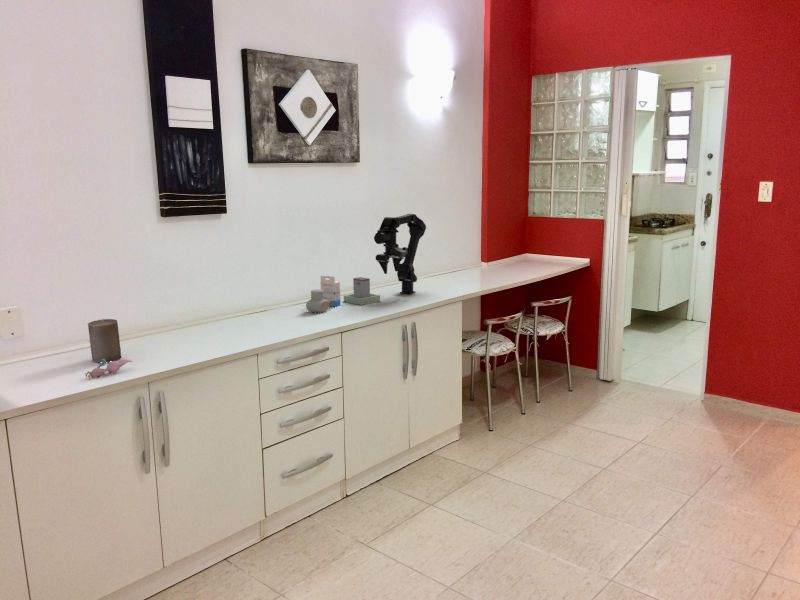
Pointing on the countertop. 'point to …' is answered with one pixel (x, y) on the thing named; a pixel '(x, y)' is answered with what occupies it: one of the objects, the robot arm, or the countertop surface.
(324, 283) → the ink box
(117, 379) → the countertop surface
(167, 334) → the countertop surface
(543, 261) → the countertop surface
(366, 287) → the grey rectangular block
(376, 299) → the tray
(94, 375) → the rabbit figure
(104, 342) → the pillar candle
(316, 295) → the beige rounded blocky piece
